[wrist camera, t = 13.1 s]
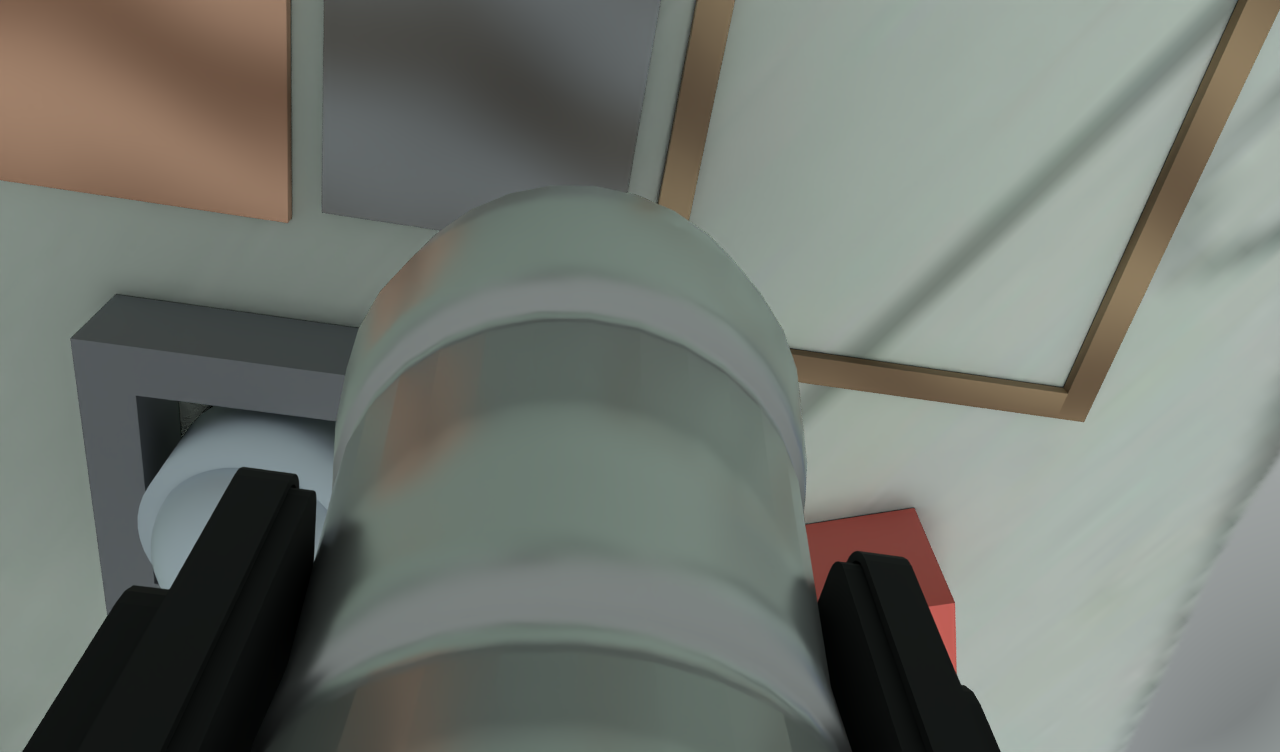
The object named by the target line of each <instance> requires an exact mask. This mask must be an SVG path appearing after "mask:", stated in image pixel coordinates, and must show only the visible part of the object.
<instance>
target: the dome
mask: <svg viewBox="0 0 1280 752" xmlns="http://www.w3.org/2000/svg"><path fill="white" fill-rule="evenodd" d="M335 424H336V421H329V420H322V419H314V418H306V417H299V416H291V415H283V414H275V413H268V412H260V411H252V410H244V409H237V408H229V407H221V406H213V407H212V408H210V409H209V410H207V411H205V412H204V413H203V414H202V415H200V416H199V417H198V418H197V419H196V420H195V421H194V422H193V423H192V425H191V426H190V427H189V428H188V430H187V431H186V433H185V434H184V436H183V437H182V438H181V440H180V441H179V443H178V444H177V446H176V447H175V449H174V450H173V452H172V453H171V454H170V456H169V457H168V459H167V460H166V462H165V463H164V465H163V466H162V468H161V469H160V470H159V472H158V473H157V475H156V476H155V478H154V479H153V481H152V482H151V483H150V485H149V486H148V488H147V490H146V492H145V493H144V495H143V497H142V500H141V503H140V506H139V511H138V532H139V537H140V541H141V544H142V546H143V549H144V551H145V553H146V555H147V557H148V559H149V561H150V562H151V564H152V565H153V570H154V573H155V576H156V578H157V581H158V583H159V586H160V587H161V588H162V589H170V587H171V586H172V584H173V582H174V580H175V579H176V577H177V575H178V573H179V571H180V570H181V568H182V566H183V564H184V563H185V561H186V559H187V557H188V556H189V554H190V552H191V550H192V549H193V547H194V545H195V543H196V542H197V540H198V538H199V536H200V534H201V533H202V531H203V529H204V527H205V526H206V524H207V522H208V520H209V519H210V517H211V515H212V513H213V512H214V510H215V508H216V506H217V504H218V503H219V501H220V499H221V497H222V496H223V494H224V492H225V490H226V489H227V487H228V485H229V483H230V482H231V480H232V478H233V476H234V474H235V473H236V472H237V470H238V469H239V468H241V467H249V468H257V469H264V470H271V471H279V472H286V473H293V474H296V475H298V478H299V489H307V490H314V491H315V492H316V496H317V504H316V527H315V550H314V560H315V556H316V552H317V548H318V544H319V541H320V537H321V533H322V529H323V525H324V521H325V517H326V513H327V510H328V506H329V502H330V498H331V494H332V479H333V459H334V441H335Z"/></svg>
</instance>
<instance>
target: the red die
mask: <svg viewBox="0 0 1280 752" xmlns="http://www.w3.org/2000/svg"><path fill="white" fill-rule="evenodd" d="M805 527H806V533H807V539H808V546H809V552H810V558H811V565H812V571H813V577H814V584H815V590H816V596H817V603H818V600H819V597H820V595H821V592H822V589H823V587H824V584H825V581H826V579H827V576H828V573H829V571H830V569H831V567H832V565H833V564H834V563H835V562H837V561H840V562H847V560H848V558H849V556H850V555H851V554H852V553H853V552H855V551H863V552H871V553H878V554H885V555H893V556H900V557H904V558H906V559H907V560H908V561H909V562H910V564H911V566H912V568H913V570H914V573H915V575H916V577H917V580H918V582H919V585H920V587H921V590H922V592H923V594H924V597H925V599H926V602H927V604H928V606H929V609H930V611H931V614H932V616H933V619H934V621H935V623H936V626H937V628H938V631H939V633H940V635H941V638H942V640H943V643H944V645H945V648H946V650H947V652H948V655H949V657H950V660H951V662H952V664H953V667H954V669H955V672H956V674H957V671H956V627H955V602H954V599H953V597H952V595H951V592H950V590H949V588H948V585H947V583H946V581H945V578H944V576H943V574H942V571H941V569H940V567H939V564H938V562H937V560H936V557H935V555H934V553H933V550H932V548H931V546H930V543H929V541H928V539H927V536H926V534H925V532H924V529H923V527H922V525H921V522H920V520H919V518H918V515H917V513H916V511H915V508H910V509H904V510H897V511H891V512H884V513H878V514H871V515H865V516H858V517H852V518H846V519H839V520H833V521H826V522H820V523H813V524H807V525H805Z"/></svg>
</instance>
